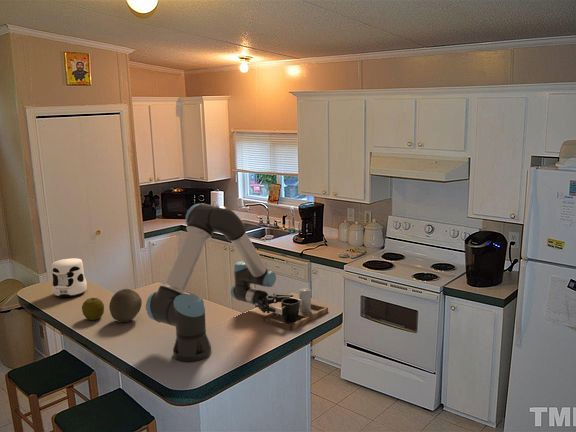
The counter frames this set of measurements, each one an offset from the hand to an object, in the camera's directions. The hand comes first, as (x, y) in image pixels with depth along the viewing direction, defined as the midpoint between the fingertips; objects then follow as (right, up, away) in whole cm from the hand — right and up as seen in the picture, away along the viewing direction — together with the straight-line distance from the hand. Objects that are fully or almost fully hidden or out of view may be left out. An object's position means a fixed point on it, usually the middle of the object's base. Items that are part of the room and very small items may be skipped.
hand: (291, 307), depth 237 cm
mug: (-1, -7, +3) cm, 8 cm away
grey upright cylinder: (+7, -5, +14) cm, 16 cm away
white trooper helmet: (-120, -1, +49) cm, 129 cm away
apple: (-94, -8, +13) cm, 95 cm away
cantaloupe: (-77, -8, +9) cm, 78 cm away
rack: (+2, -6, +9) cm, 11 cm away
